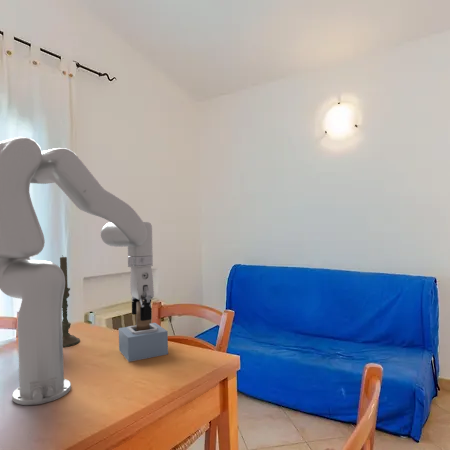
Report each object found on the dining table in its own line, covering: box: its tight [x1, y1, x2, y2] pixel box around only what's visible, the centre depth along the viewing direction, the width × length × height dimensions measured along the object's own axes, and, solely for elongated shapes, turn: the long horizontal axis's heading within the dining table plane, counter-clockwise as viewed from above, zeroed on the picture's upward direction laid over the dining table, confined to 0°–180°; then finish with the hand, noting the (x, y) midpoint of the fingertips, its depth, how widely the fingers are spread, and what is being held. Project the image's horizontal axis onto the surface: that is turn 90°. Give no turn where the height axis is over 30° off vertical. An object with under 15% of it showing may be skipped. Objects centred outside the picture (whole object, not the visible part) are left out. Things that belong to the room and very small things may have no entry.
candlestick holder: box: [59, 255, 81, 348], centre depth 130 cm, size 9×9×30 cm
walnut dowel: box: [135, 300, 151, 331], centre depth 119 cm, size 4×4×14 cm
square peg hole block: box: [118, 322, 169, 363], centre depth 119 cm, size 12×12×8 cm
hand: (141, 316), depth 118 cm, fingers open, 9 cm apart
